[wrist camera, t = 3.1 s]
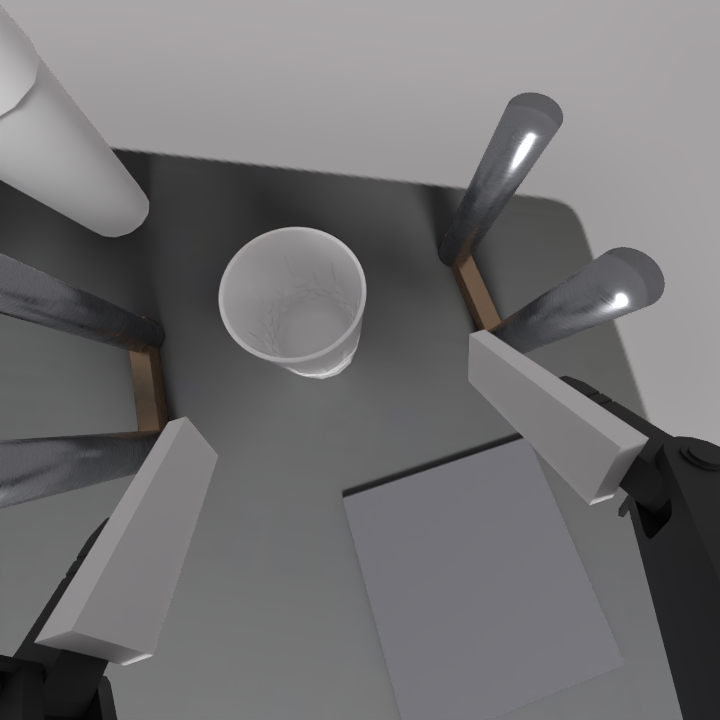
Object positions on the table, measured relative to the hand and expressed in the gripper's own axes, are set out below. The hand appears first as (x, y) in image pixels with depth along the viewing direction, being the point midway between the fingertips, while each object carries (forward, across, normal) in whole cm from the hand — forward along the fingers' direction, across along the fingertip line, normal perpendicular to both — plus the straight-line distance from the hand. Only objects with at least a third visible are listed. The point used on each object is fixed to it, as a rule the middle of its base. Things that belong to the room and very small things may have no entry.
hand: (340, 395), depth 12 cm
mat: (-3, +6, -18) cm, 19 cm away
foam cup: (+26, -17, +11) cm, 33 cm away
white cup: (+12, -1, -3) cm, 12 cm away
